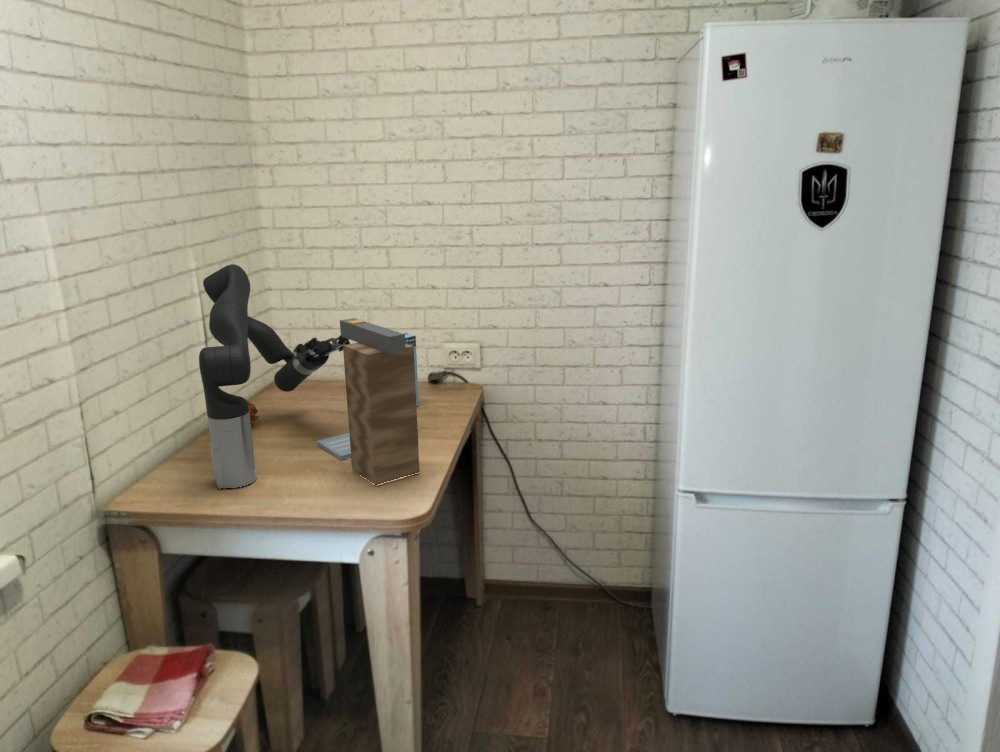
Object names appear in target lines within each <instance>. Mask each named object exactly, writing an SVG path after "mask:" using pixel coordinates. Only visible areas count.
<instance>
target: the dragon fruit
mask: <svg viewBox="0 0 1000 752" xmlns="http://www.w3.org/2000/svg"><path fill="white" fill-rule="evenodd" d="M247 402H248V406H249V415H250V424H251V428H252V427H253V425H254V424H253V423H254V422H257V420H259V419H260V417H259V416H257V414H258V413H259V412H258V411H259V410H258V409H257V408H256V406H255V404H254V403H251V401H249V400H247Z"/></svg>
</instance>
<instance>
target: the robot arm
mask: <svg viewBox="0 0 1000 752" xmlns="http://www.w3.org/2000/svg"><path fill="white" fill-rule="evenodd" d="M202 286H203V289H204V290H205V293H206V295H207V297H209V299H210V300H211V301H212V303H213V305H212V307H211V309H210V312H209V322H208V323H209V324H208V328H209V331H210V334H211V335H212V337H213V338H214V340H216V341H217V342H218V343H220V344H221V345H217V346H209V347H208V346H207V347H204V348H202V349H201V350H200V352H199V355H198V367H199V372H200V376H201V382H202V385H203V386H202V387H203V393H204V400H205V406H206V416H207V422H208V423H207V425H208V430H209V431H208V432H209V439H210V443H209V450H210V456H211V463H212V470H213V477H214V478H213V479H214V482H216V483H215V486H216V487H218V488H217V490H221V488H223V489H226V488H233V489H238V488H237V487H240V488H243V487H242V486H244V487H246V486H245V485H247V486H249V485H248V484H250V485H252V484H253V483H255V482H256V480H257V479H258V478H257V468H256V461H255V452H254V443H253V435H252V427H251V424H250V415H249V406H248V402H247V401H248V400H247V399H246V398H245V397H243V396H239V395H235V394H232V393H228V392H226V391H225V390H222V389H221V388H220V387H228V386H238V385H244V384H246V383H247V382H249V379H250V378H251V377H250V376H251V369H252V368H251V365H252V364H251V357H250V355H251V354H250V348H249V342H248V341H250V342H251V343H252V344H253V345H254V347H255V349H256V350H257V351H258V353H259V354H260V355H261V357H262V358H263V359H264V360H265V362H266V363H268V364H269V365H274V364H277V363H279V362H280V361H284V362H285V364H284V365H283V366H282V367H281V368H279V370H278V371H276V372H275V374H274V377H273V381H274V384H275V386H276V387H277V388H278V389H279V390H280V391H283V392H287V393H291V392H292V391H294V390H295V389H297V387H299V385H301V384H302V383H303V382H305V380H306V379H307V378H308V377H310V376H311V375H312V374H314V373H315V372H317V371H318V370H319V369H321V367H322V366H324V365H325V364H326V363H327V362H328V361H329V358H330V355H331V354H332V353H334V352H336V351H338V352H343V345H347V344H351V342H350V339H347V338H344V337H342V336H341V334H340V335H339V336H338V337H330V338H328V339H326V340H318V339H317V337H312V338H311V339H310V340H308V341H306V342H304V344H303V343H299V344H297V345H296V346H295V348H294V349H293V350H291V349H289V348H288V346H286V345H285V343H284V342H283V340H282V339H281V337H280V336H279V335H278V334H277V332H276V331H275V330H274V329H273V328H272V327H271V326H269V325H268V324H267V323H264V322H262V321H260V320H258V319H255V318H253V317H251V316H249V313H248V311H249V309H248V308H249V307H248V305H249V299H250V295H251V282H250V279H249V277H248V275H247V273H246V271H245V270H244V269H243V268H242V267H241V266H240V265H237V264H234V263H232V264H228V265H226V266H223V267H221V268H220V269H218V270H216V271H215V272H213V273H211V274H210V275H208V276H206V277H205V278H203V281H202ZM251 483H252V484H251Z"/></svg>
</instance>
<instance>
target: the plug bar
mask: <svg viewBox="0 0 1000 752" xmlns="http://www.w3.org/2000/svg"><path fill="white" fill-rule="evenodd" d="M339 327H340V328H339V330H340V335H341V336H342V337H344V338H347V339H349V341H353V342H355V343H361V344H363V345H366V346H369V347H371V348H374V349H377V350H380V351H382V352H385V353H388V354H395V353H400V352H406V348H405V333H402V332H399V331H396V330H393V329H389V328H386V327H383V326H379V325H378V324H374V323H371V322H367V321H366V320H364V319H360V318H355V317H353V318H347V319H346V318H345V319H340V320H339Z"/></svg>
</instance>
